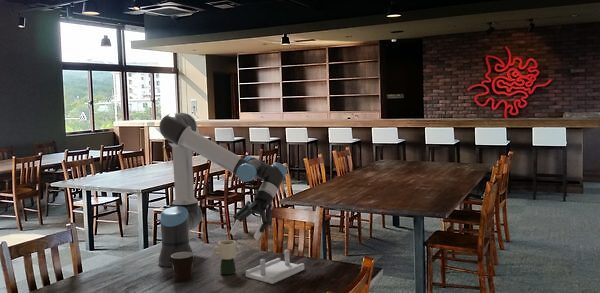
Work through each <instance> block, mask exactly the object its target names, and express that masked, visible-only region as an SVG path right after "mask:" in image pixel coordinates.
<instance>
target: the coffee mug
mask: <svg viewBox="0 0 600 293" xmlns="http://www.w3.org/2000/svg"><path fill="white" fill-rule="evenodd" d="M193 255H194V252H193V253H191V252H178V253H175V254H172V255H171V259H172V265H173V267H172V269H173V275H174V281H175V283H179V282H180V283H179V284H182V283H188V282H191V281H192V278H193V264H194V261H193Z"/></svg>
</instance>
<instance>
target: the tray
mask: <svg viewBox="0 0 600 293" xmlns="http://www.w3.org/2000/svg"><path fill="white" fill-rule="evenodd" d="M283 252H284V260H281V257H276V258H275V259H272V260H269V261H267V262H266V259H265V258H261V259H259V265H256V266H255V267H252V268H248V269H247V270H245V277H246V278H249V279H253V280H256V281H261V282H264V283H269V284H276V283H277V282H279V281H282V280H284V279H287V278H289V277H291V276H293V275H295V274H298V273H299V272H302V271H304V270H305V262H304V263H303V262H302V263H299V264H298V263H292V262H290V249H284V251H283Z"/></svg>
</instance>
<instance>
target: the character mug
mask: <svg viewBox="0 0 600 293" xmlns="http://www.w3.org/2000/svg"><path fill="white" fill-rule="evenodd" d="M217 243H218V245H217V246H214V247H213V254H214V255H218V257H219V259H220V270H219V272H220V273H221V274H223V275H232V274H233V273H236V272H237V270H236V265H235V264H236V263H235V258H236V256H237V255H240V254H241V252H242V250H241V249H242V246H241V245H237V242H236V240H233V239H224V240H220V241H218V242H217ZM237 249H238V251H237ZM217 250H218V251H217Z"/></svg>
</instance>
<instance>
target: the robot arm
mask: <svg viewBox="0 0 600 293" xmlns="http://www.w3.org/2000/svg"><path fill="white" fill-rule="evenodd" d="M197 126H198V124H197V122H196V119H195V117H194V116H192V115H191V114H189V113H185V112H176V113H169V114H166V115H164V116H163V117H162V119H161V120H160V123H159V132H160V135H162V137H164V139H166V140H167V141H168V145H169V146H170V147H171V150H172V162H173V163H172V166H173V169H172V170H173V182H174V196H175V198H174V200H173V201H172V206H171V207H166V208H164V209H163V210H162V212H160V219H159V221H160V232H161V233H160V234H161V248H160V252H159V256H158V265H159V266H161V267H164V268H165V267H166V268H173V265H172V259H171V255H172V254H175V253H178V252H191V253H193V262H194V261H195V255H194V252H193V249H192V247H191V244H190V231H191V230H193V229H195V228H197V227H198V225H199V224H200V222H201V221H202V219H203V218H202V217H203V213H202V210H201V209H202V208H201V207H200V206H199V201H198V199H197V198H196V197H195V186H194V169H193V168H194V167H193V155H192V154H193V153H195V154H198V155H200V156H202V157H203V158H205V159H207V160H208V161H210V162H212V163H214V164H215V165H217V166H219V167H221V168H223V169H225V170H227V171H229V172H230V173H231V174H234V175H236V177H237V179H238V180H239V181H241V182H243V183H246V182H251V181H253V180H254V179H255V178H257V179H259V180H262V183H261V184H260V186H259V188H258V191H257V192H256V194H255V195H254V201H253V202H251V201H250V200H247V201H246V202H245V205H243V206H242V207H241V208H240V209H239V210H238V211H237V212H236V213H235V214H233V216H232V217H233V219H234V222H233V224H232V227H231V229H230V231H229V233H230V235H232V237H233V236H234V237H235V235H236V234H237V232H238V230H239V228H240V226H241V224H242V223H241V222H242V221H244V220H245V219H247V218H248V217H249V216H251V215H254V214H259V215H260V218H261V220H262V221H261V222H260V224H259V225H258V228H257V230H256V231H255V233H254V234H253V238H254V239H255V240H256V241H260V238H261V236H262V234H264V232H265V230H266V229H267V228H268V227H271V226H272V225H273V213H274V212H273V211H274V208H275V207H274V206H273V204H272V202H273V200H274V197H275V196H276V195H277V192H278V190H280V187H281V185H282V183H283V182H284V180H285V177H286V176H287V173H288V170H287V167H286V166H285V165H284V164H282V163H280V162H273V163H272V164H268V163H266V162H264V161H262V160H260V159H257V158H256V157H254V156H250V155H247V156H245V157H244V158H243V157H241V156H239V155H238V154H235V153H234V152H232V151H231V150H228V149H227V148H225V147H223V146H221V145H219V144H218V143H216V142H214V141H212V140H211V139H208V138H207V137H205V136H203V135H201V134H200V133H198V132H197V129H198V127H197ZM192 152H193V153H192ZM266 210H267V211H266Z"/></svg>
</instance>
